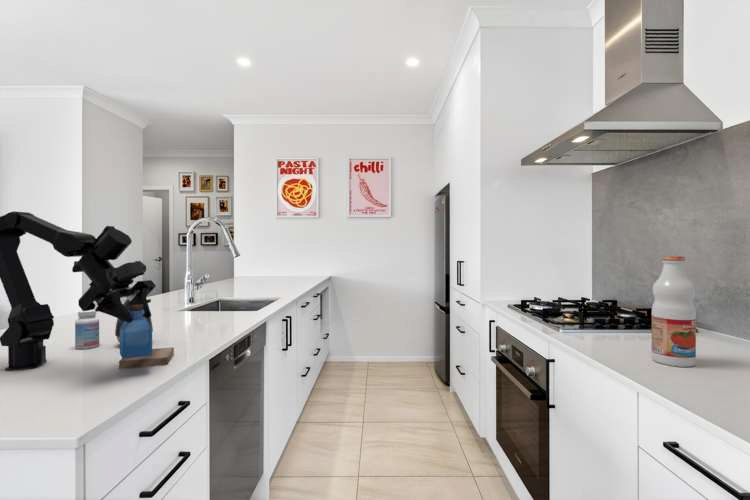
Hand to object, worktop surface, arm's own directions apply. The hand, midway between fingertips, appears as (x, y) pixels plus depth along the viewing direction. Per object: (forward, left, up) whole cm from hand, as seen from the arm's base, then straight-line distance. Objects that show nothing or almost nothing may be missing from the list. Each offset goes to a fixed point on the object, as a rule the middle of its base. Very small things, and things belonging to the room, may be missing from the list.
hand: (141, 319), depth 99 cm
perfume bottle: (-1, +1, -9) cm, 9 cm away
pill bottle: (-22, +34, -13) cm, 43 cm away
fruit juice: (+131, -36, -13) cm, 137 cm away
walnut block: (-1, +11, -14) cm, 18 cm away
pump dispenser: (-9, +33, -13) cm, 37 cm away
